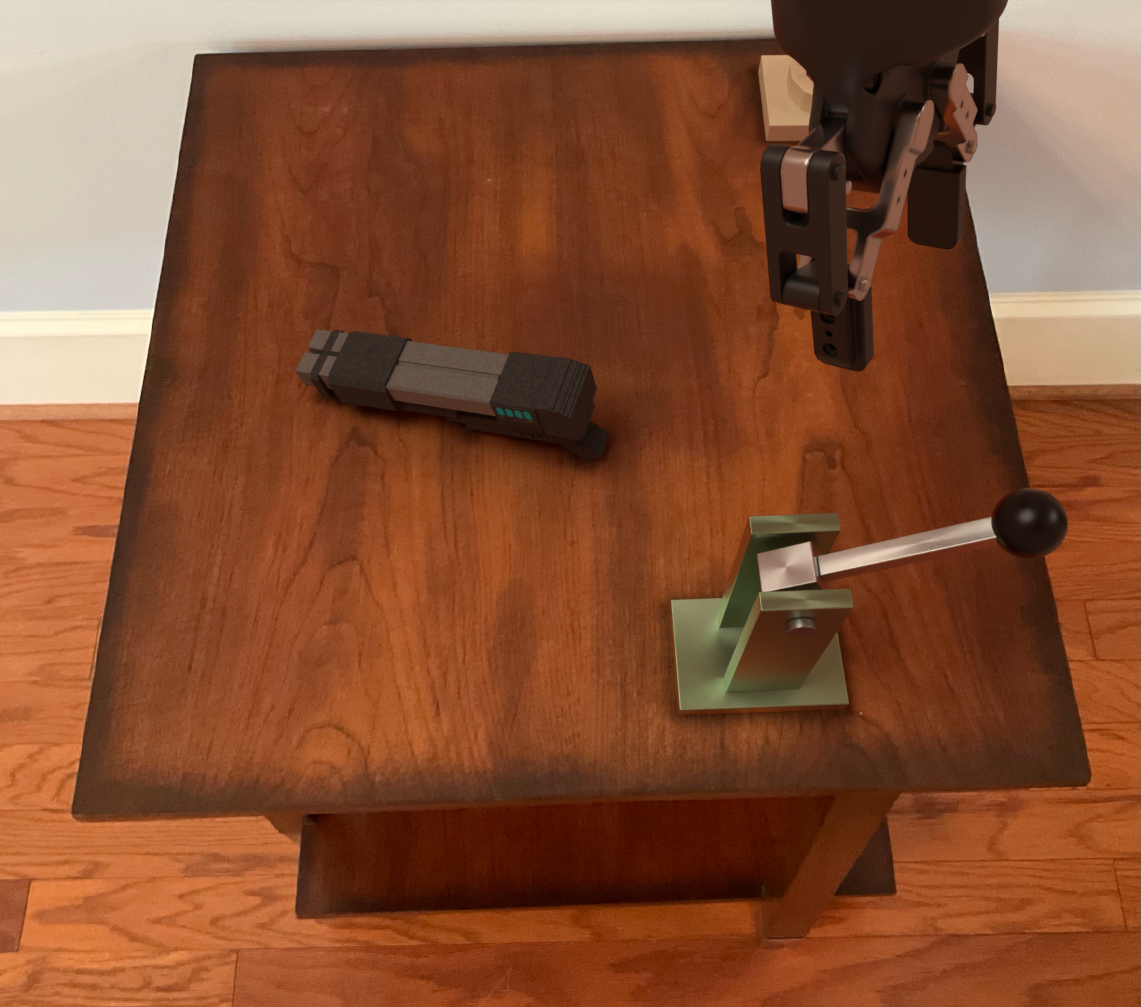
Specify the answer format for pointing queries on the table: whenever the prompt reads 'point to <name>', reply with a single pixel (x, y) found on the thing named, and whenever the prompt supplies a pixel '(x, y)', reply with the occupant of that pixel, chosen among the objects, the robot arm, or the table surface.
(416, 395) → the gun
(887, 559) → the switch lever
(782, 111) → the button box
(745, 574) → the switch bracket
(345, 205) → the table surface
